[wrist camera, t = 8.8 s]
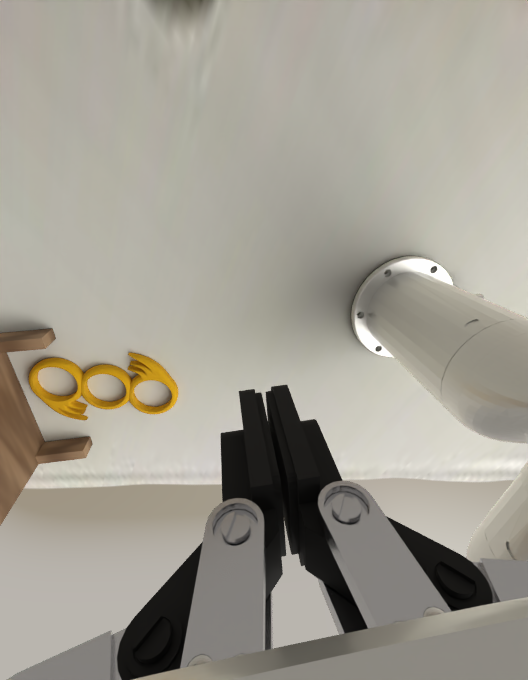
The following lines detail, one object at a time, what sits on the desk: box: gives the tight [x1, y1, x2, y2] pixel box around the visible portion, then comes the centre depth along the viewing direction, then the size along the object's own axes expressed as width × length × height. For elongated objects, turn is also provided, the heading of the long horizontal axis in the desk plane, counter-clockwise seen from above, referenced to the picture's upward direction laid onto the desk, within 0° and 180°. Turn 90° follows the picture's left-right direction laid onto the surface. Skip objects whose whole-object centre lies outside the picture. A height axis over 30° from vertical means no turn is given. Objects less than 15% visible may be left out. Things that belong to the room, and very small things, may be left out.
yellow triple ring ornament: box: [29, 353, 178, 420], centre depth 40 cm, size 17×2×10 cm
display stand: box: [0, 329, 92, 525], centre depth 34 cm, size 7×16×12 cm, turn 2°
